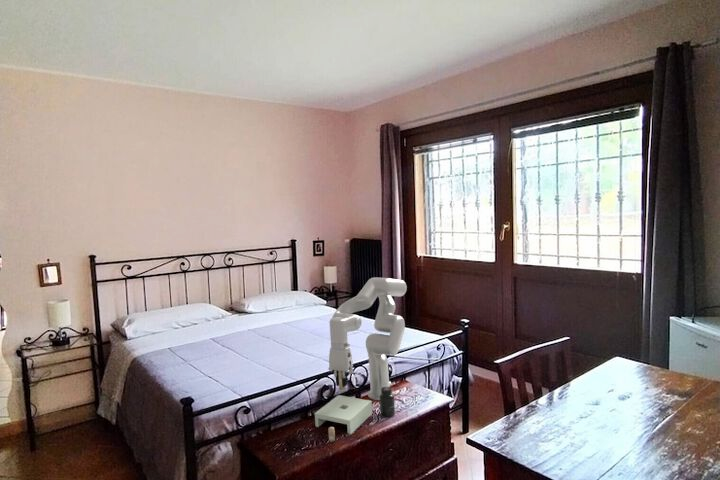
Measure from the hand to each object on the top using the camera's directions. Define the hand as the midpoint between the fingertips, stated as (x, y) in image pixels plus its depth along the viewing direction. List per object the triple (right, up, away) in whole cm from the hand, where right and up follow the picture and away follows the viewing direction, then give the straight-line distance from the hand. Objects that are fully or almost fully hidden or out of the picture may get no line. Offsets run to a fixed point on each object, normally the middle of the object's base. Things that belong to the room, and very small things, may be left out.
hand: (341, 385), depth 195 cm
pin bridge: (+1, -16, +1) cm, 16 cm away
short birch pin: (-3, -18, -16) cm, 24 cm away
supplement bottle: (+21, -15, +4) cm, 26 cm away
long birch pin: (0, -2, 0) cm, 2 cm away
